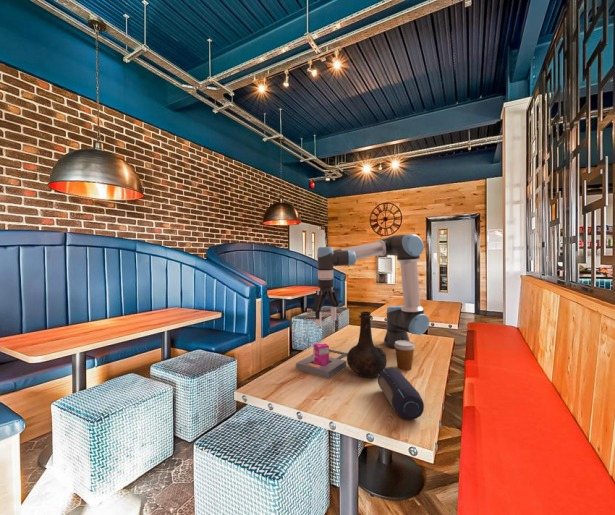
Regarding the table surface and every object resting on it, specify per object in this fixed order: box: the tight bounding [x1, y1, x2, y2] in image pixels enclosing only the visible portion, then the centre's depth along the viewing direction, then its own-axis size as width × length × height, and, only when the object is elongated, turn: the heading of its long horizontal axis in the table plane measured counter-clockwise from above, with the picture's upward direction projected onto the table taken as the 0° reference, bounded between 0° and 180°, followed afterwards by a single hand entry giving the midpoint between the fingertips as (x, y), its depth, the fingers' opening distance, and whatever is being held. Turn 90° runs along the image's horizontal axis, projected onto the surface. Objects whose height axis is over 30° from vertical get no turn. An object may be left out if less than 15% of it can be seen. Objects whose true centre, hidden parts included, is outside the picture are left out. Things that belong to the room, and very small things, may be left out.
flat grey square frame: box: [329, 348, 348, 360], centre depth 159 cm, size 15×15×1 cm
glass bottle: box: [346, 311, 387, 378], centre depth 136 cm, size 18×18×28 cm
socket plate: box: [295, 354, 347, 379], centre depth 142 cm, size 18×16×3 cm
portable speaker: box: [377, 366, 425, 420], centre depth 108 cm, size 25×10×10 cm, turn 3°
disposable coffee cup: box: [394, 340, 416, 372], centre depth 142 cm, size 10×10×12 cm
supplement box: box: [312, 341, 330, 366], centre depth 142 cm, size 6×6×12 cm
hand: (326, 322), depth 144 cm, fingers open, 13 cm apart
